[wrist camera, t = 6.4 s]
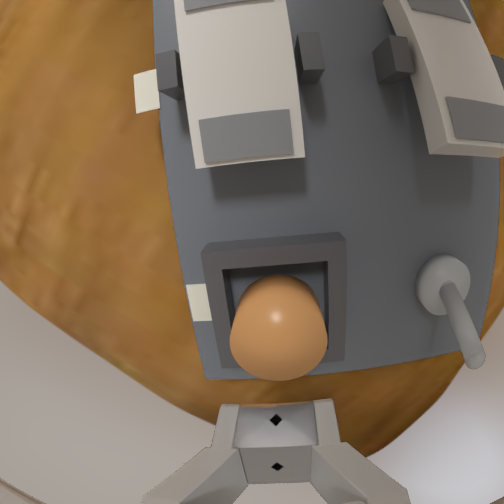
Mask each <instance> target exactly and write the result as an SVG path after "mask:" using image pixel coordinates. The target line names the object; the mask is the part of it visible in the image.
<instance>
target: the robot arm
mask: <svg viewBox="0 0 504 504" xmlns="http://www.w3.org/2000/svg"><path fill="white" fill-rule="evenodd" d="M295 482H310V483H311V484H312V486H313V487H314V488H315V489H316V490H317V491H318V493H319V494H320V495H321V496H322V497H323V499H324V500H325V501H326V502H327V503H328V504H411V503H410V499H409V496H408V492H407V489H405V488H404V487H403V486H401V485H400V484H399V483H397V482H396V481H395V480H393V479H392V478H391V477H389V476H388V475H387V474H386V473H384V472H383V471H382V470H381V469H379V468H378V467H377V466H375V465H374V464H373V463H372V462H370V461H369V460H368V459H367V458H365V457H364V456H363V455H362V454H361V453H359V452H358V451H357V450H356V449H354V448H353V447H352V446H351V445H350V444H348V443H347V442H341V441H340V435H339V430H338V424H337V419H336V413H335V408H334V403H333V400H332V399H331V398H329V399H321V400H312V401H301V402H289V403H277V404H222V405H221V407H220V410H219V414H218V419H217V423H216V427H215V431H214V436H213V440H212V444H211V447H206V448H204V449H203V450H201V451H200V452H199V453H198V454H197V455H195V456H194V457H193V458H192V459H191V460H189V461H188V462H187V463H186V464H185V465H183V466H182V467H181V468H179V469H178V470H177V471H175V472H174V473H173V474H172V475H170V476H169V477H168V478H166V479H165V480H164V481H162V482H161V483H160V484H158V485H157V486H156V487H154V488H153V489H152V490H150V491H149V492H147V493H146V494H145V495H144V496H143V499H142V501H141V504H233V502H234V501H235V500H236V499H237V498H238V497H239V496H240V494H241V493H242V492H243V491H244V490H245V488H246V487H247V486H248V484H263V483H264V484H266V483H295ZM0 504H46V503H43V502H42V501H39V500H38V499H36V498H34V497H32V496H30V495H28V494H26V493H24V492H23V491H21V490H19V489H17V488H16V487H14V486H12V485H11V484H9V483H7V482H6V481H4V480H2V479H1V478H0ZM490 504H504V497H502V498H500V499H498V500H496V501H494V502H492V503H490Z"/></svg>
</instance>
